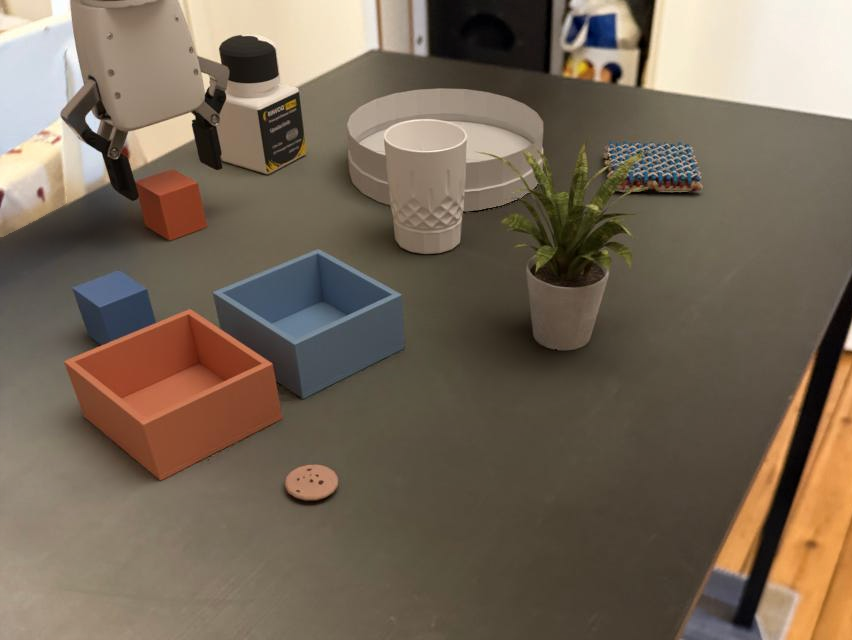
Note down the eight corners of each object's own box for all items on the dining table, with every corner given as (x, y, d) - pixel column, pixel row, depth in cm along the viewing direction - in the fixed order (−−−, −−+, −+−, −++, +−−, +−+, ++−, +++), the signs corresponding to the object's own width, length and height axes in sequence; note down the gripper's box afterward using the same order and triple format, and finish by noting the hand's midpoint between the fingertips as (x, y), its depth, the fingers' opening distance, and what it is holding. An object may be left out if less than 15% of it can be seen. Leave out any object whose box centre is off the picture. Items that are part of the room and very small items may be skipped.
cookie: (302, 511, 66) (300, 500, 65) (275, 481, 68) (273, 470, 67) (349, 491, 67) (347, 480, 67) (321, 462, 69) (320, 452, 69)
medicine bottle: (268, 176, 104) (249, 55, 94) (220, 161, 106) (197, 42, 97) (308, 154, 108) (293, 36, 99) (261, 141, 110) (243, 25, 101)
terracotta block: (145, 226, 95) (134, 181, 92) (183, 213, 97) (172, 168, 94) (169, 241, 93) (158, 195, 90) (207, 227, 95) (197, 182, 92)
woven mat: (690, 158, 108) (693, 139, 107) (702, 197, 101) (706, 178, 100) (601, 156, 108) (603, 137, 107) (608, 195, 101) (610, 176, 100)
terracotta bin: (83, 416, 73) (63, 360, 69) (203, 362, 78) (190, 308, 75) (160, 481, 68) (142, 424, 64) (282, 418, 73) (273, 363, 70)
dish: (527, 222, 97) (530, 173, 93) (325, 203, 99) (319, 154, 95) (554, 141, 111) (557, 95, 107) (376, 126, 113) (373, 81, 110)
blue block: (88, 335, 81) (71, 287, 78) (133, 317, 83) (119, 269, 80) (114, 355, 79) (99, 307, 76) (160, 336, 81) (147, 288, 78)
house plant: (456, 372, 78) (454, 172, 66) (479, 291, 87) (481, 102, 75) (624, 388, 77) (655, 187, 64) (630, 304, 86) (658, 114, 74)
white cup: (378, 250, 92) (370, 144, 85) (405, 217, 97) (400, 114, 90) (452, 263, 91) (451, 156, 83) (476, 228, 96) (477, 124, 88)
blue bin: (223, 346, 80) (212, 292, 76) (324, 301, 86) (318, 248, 82) (303, 399, 75) (294, 344, 71) (405, 348, 80) (402, 294, 77)
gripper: (180, -53, 85) (221, 144, 98) (3, -12, 77) (73, 196, 90) (228, -37, 81) (263, 165, 94) (47, 7, 73) (113, 221, 86)
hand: (170, 180), depth 92 cm, fingers open, 9 cm apart
